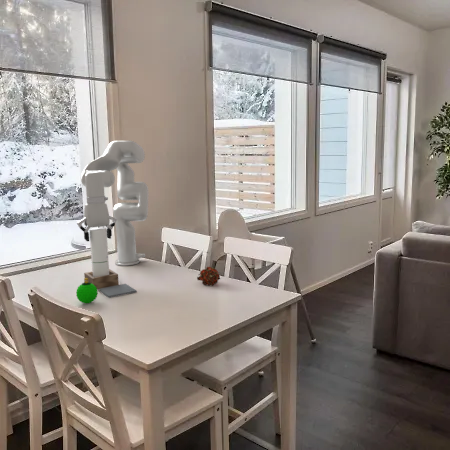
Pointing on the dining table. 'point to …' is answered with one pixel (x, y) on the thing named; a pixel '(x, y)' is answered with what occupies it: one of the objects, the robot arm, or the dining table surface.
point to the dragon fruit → (209, 276)
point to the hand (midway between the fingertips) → (98, 239)
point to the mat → (117, 290)
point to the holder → (103, 279)
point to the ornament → (86, 292)
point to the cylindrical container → (99, 252)
